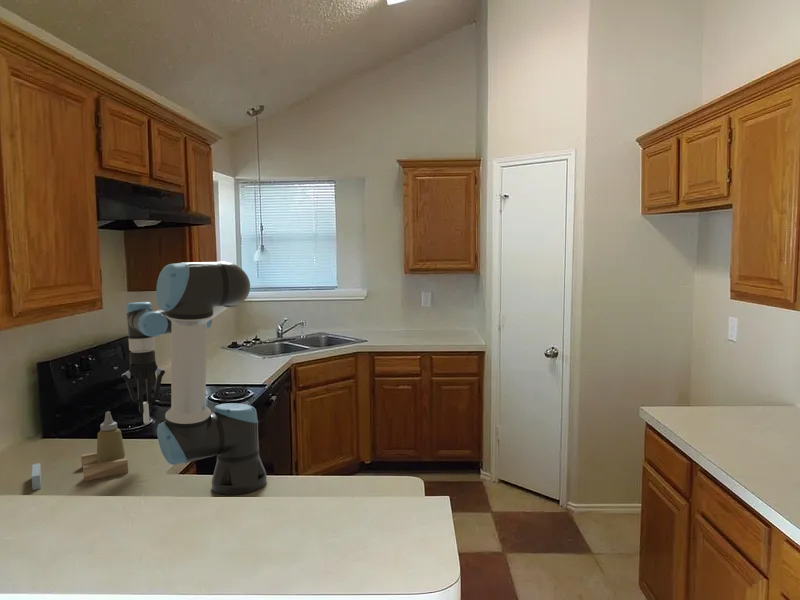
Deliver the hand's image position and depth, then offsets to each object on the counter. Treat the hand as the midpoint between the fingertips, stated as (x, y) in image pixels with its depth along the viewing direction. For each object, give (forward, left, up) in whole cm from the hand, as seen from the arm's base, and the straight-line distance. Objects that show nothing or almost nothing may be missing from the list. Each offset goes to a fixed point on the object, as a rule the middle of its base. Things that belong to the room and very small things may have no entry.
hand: (146, 422), depth 188 cm
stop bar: (0, +31, -13) cm, 33 cm away
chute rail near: (-6, +13, -13) cm, 19 cm away
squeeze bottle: (0, +11, -13) cm, 17 cm away
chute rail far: (+6, +13, -13) cm, 19 cm away
